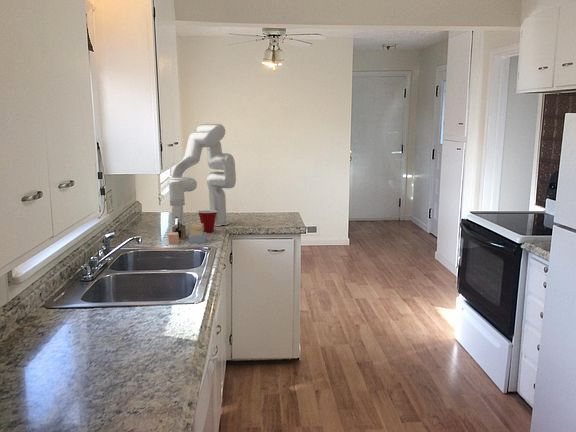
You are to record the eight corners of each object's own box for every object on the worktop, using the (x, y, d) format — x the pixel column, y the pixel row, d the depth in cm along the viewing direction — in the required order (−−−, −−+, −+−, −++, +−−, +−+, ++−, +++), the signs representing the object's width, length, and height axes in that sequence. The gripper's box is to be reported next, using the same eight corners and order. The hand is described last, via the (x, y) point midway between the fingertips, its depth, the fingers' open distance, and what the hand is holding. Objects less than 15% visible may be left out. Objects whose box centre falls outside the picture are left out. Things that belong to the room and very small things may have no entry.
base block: (191, 240, 260) (190, 232, 259) (206, 239, 261) (206, 232, 260) (189, 243, 252) (188, 236, 252) (205, 243, 253) (204, 235, 252)
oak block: (192, 233, 258) (191, 223, 257) (203, 232, 259) (203, 223, 258) (190, 235, 253) (190, 226, 252) (202, 235, 253) (201, 225, 252)
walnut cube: (174, 236, 268) (174, 225, 267) (185, 236, 269) (185, 225, 268) (172, 239, 262) (172, 227, 261) (184, 238, 263) (183, 227, 262)
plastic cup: (221, 230, 283) (220, 209, 280) (213, 234, 272) (212, 212, 270) (203, 229, 286) (202, 208, 283) (195, 233, 275) (194, 211, 273)
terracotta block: (168, 242, 255) (167, 232, 254) (178, 241, 257) (177, 232, 256) (168, 244, 251) (168, 234, 250) (179, 243, 252) (178, 234, 251)
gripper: (173, 200, 270) (175, 232, 274) (167, 205, 253) (169, 240, 257) (187, 200, 271) (188, 232, 274) (182, 205, 254) (183, 239, 257)
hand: (179, 235), depth 265 cm, fingers closed on walnut cube, 6 cm apart
